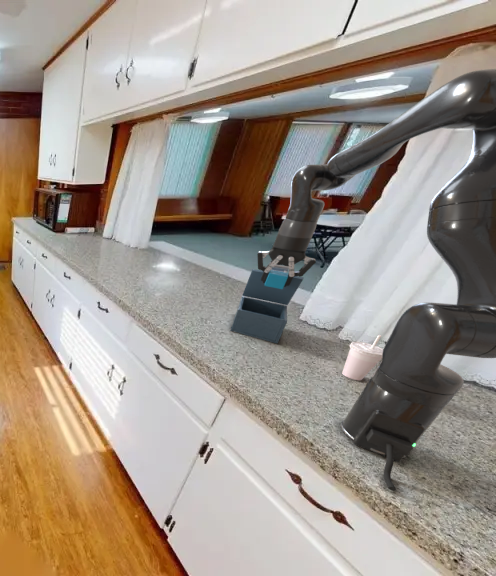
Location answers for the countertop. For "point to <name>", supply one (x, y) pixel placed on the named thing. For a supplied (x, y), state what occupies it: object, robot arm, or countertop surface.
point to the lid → (269, 293)
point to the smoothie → (362, 359)
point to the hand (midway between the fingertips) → (274, 284)
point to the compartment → (260, 319)
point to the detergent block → (276, 279)
